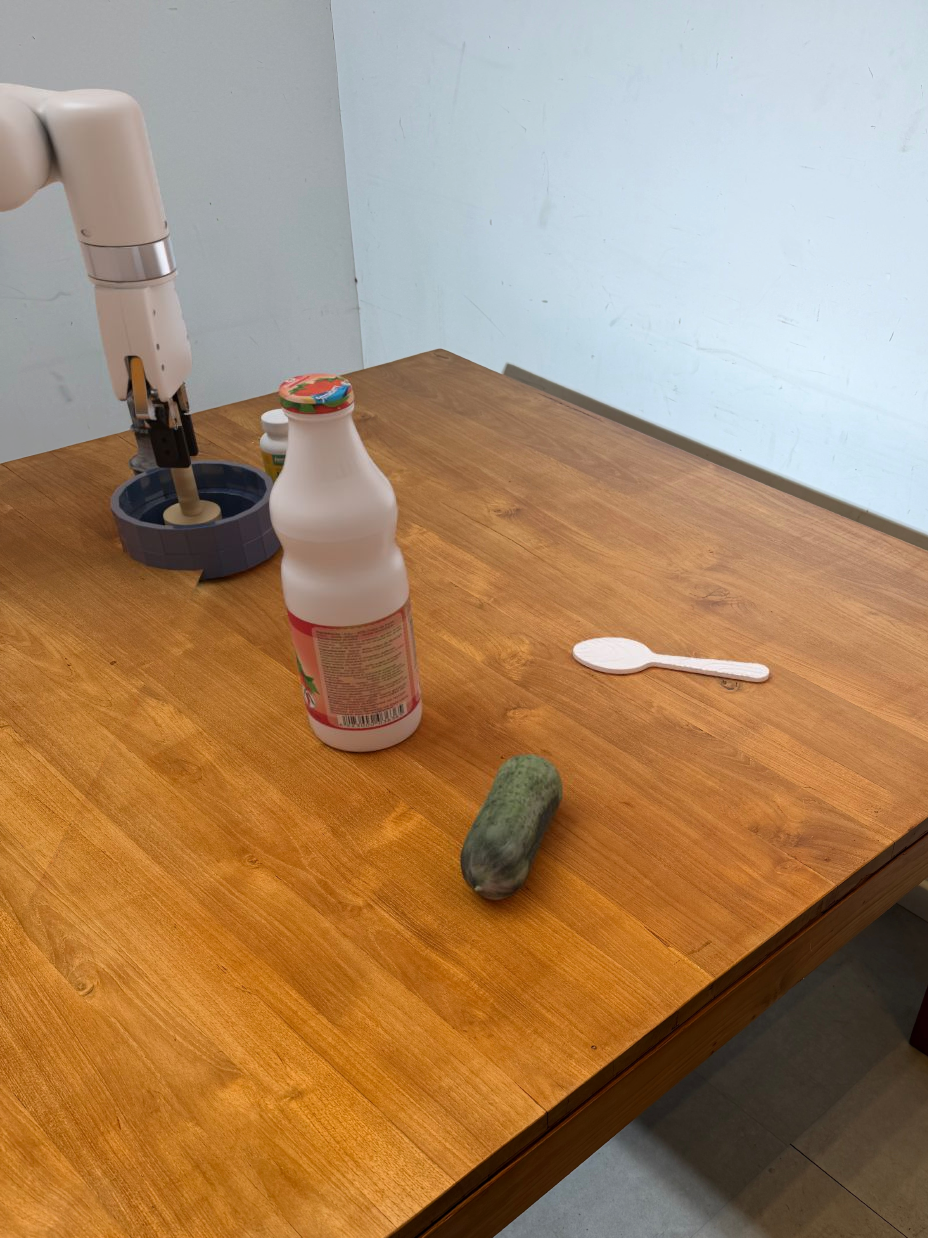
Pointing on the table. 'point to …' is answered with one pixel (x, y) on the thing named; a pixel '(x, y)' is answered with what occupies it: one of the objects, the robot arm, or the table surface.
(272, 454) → the supplement bottle
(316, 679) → the fruit juice
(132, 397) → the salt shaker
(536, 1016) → the table surface
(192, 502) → the wooden masher
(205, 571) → the bowl
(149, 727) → the table surface
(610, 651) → the spoon
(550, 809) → the vegetable
